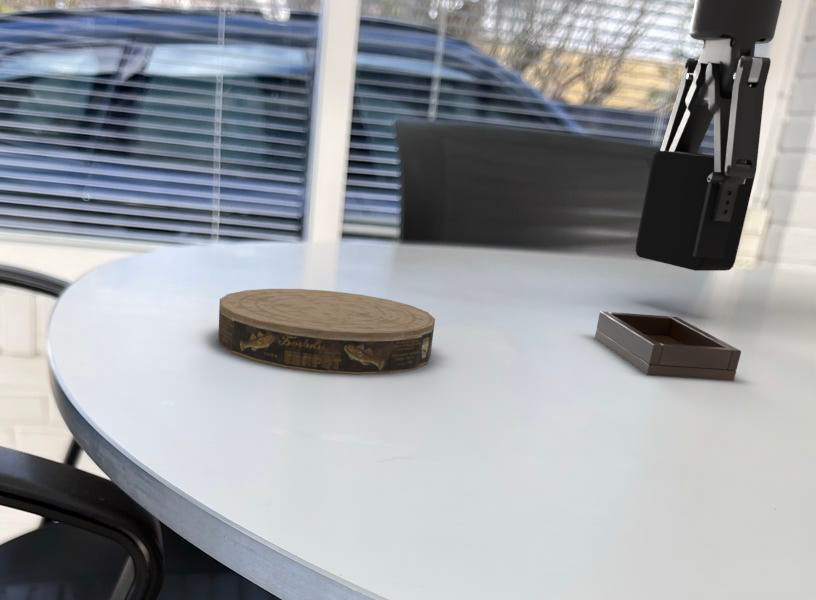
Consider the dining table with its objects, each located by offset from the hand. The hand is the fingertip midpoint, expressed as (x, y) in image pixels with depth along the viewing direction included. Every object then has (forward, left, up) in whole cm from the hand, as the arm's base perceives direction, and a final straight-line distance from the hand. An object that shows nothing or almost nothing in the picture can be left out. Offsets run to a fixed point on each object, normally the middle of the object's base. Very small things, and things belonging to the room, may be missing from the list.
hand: (685, 249), depth 106 cm
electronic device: (0, 0, -2) cm, 2 cm away
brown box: (+10, +24, -6) cm, 27 cm away
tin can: (+38, +28, -6) cm, 48 cm away
